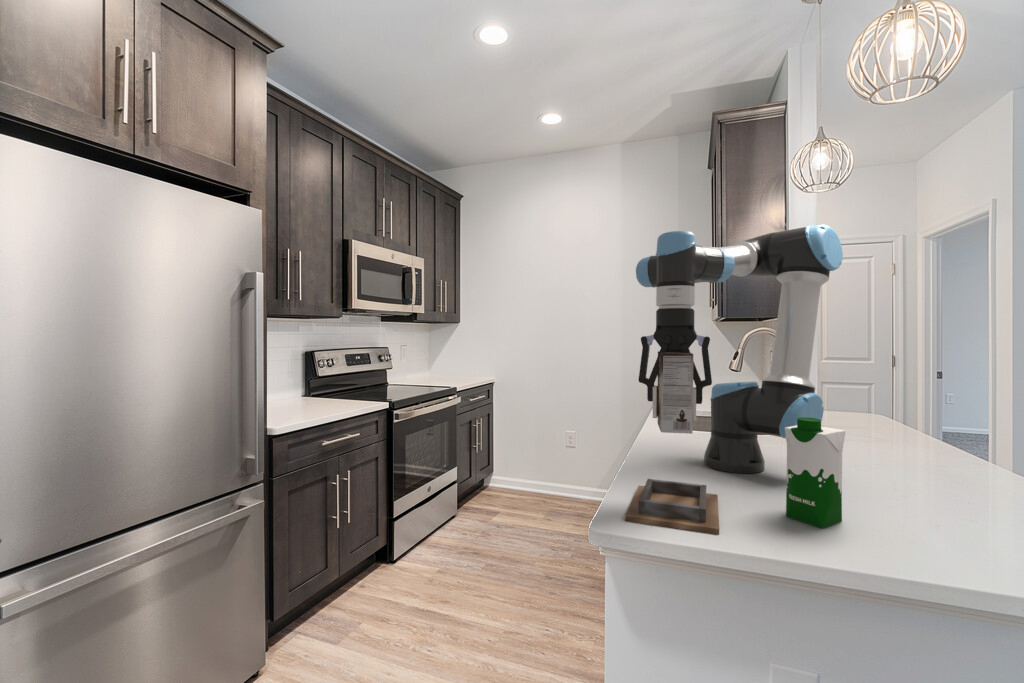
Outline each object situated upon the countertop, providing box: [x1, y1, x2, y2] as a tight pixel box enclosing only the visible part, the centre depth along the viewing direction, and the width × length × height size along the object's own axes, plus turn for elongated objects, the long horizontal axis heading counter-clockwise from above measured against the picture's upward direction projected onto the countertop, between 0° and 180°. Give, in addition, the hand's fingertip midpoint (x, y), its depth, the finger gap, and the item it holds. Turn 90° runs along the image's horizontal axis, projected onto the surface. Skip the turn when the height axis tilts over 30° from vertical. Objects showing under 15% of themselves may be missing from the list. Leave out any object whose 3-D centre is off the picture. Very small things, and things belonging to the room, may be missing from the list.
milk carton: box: [785, 418, 846, 529], centre depth 96 cm, size 9×9×20 cm
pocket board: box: [624, 478, 720, 535], centre depth 101 cm, size 17×20×4 cm
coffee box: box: [656, 350, 694, 435], centre depth 101 cm, size 9×6×16 cm
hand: (674, 418), depth 101 cm, fingers closed on coffee box, 7 cm apart
